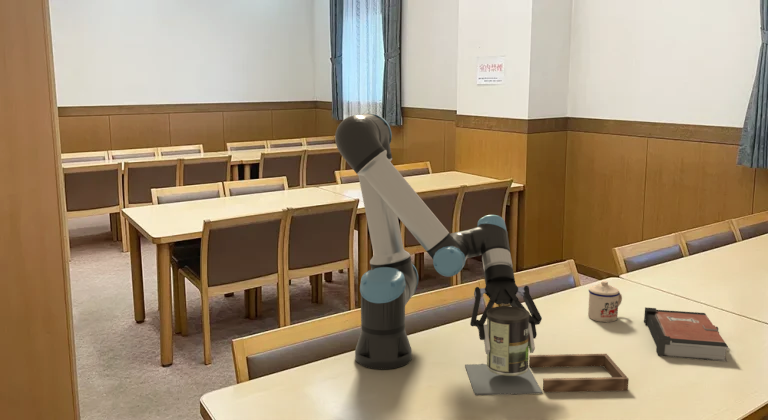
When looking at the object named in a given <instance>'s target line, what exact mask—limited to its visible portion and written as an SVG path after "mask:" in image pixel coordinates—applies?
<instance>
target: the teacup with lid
mask: <svg viewBox="0 0 768 420" xmlns="http://www.w3.org/2000/svg"><path fill="white" fill-rule="evenodd" d="M622 301H623V295H622V294H621V292H620V290H619V289H618V288H617V287H615V286H613V285H611V284H609V282H608V281H607V280H601V282H600V283H598V284H596V285H592V286H590V287H589V289H588V309H587V311H588V312H587V316H588V318H589V319H591V320H592V321H596V322H600V323H612V322H614V321H617V320H618V315H619V307H620V305H621V304H622Z"/></svg>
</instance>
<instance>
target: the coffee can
mask: <svg viewBox="0 0 768 420" xmlns="http://www.w3.org/2000/svg"><path fill="white" fill-rule="evenodd" d="M525 309H526V308H525ZM525 309H522V308H519V307H513V306H511V305H510V306H509V305H502V306H501V305H500V306H495V307H494V306H493V307H492V308H491V309H489V310H487V319H486V325H487V329H488V336H489V343H490V352H489V354H486V364H487V368H488V370H490V371H491V372H493V373H496V374H499V375H505V376H516V375H521V374H524V373H526V372H527V371H528V369H530V367H529V354H530V351H529V317H530V315H531V313H530V311H529V310H527V309H526V310H525Z"/></svg>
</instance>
